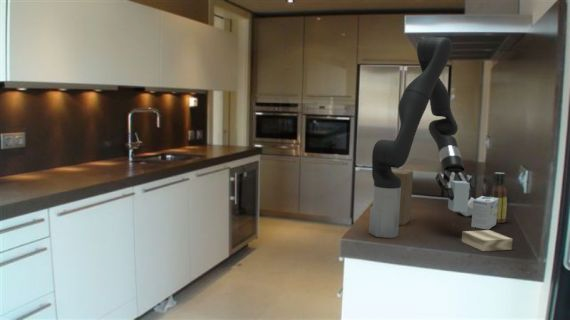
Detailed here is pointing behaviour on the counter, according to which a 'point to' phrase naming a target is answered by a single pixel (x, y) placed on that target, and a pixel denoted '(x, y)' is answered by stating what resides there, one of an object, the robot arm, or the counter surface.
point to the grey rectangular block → (459, 196)
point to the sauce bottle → (500, 196)
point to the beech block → (487, 240)
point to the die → (469, 208)
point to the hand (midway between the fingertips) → (460, 199)
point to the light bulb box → (484, 212)
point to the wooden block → (404, 194)
